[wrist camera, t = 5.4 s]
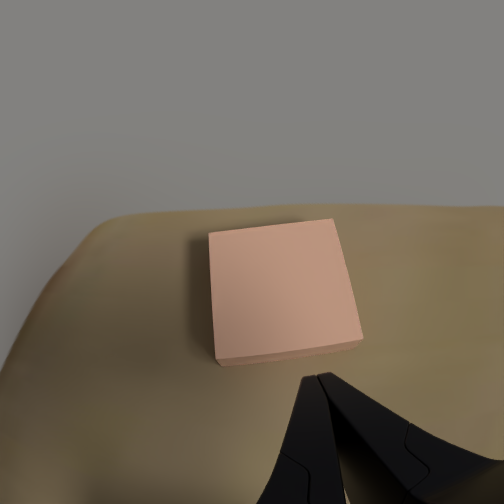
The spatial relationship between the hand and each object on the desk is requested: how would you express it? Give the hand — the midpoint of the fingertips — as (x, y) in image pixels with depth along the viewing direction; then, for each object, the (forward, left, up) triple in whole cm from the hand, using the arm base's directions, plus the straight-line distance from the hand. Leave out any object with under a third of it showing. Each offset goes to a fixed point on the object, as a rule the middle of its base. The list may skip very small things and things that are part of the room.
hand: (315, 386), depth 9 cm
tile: (+2, +1, -9) cm, 9 cm away
